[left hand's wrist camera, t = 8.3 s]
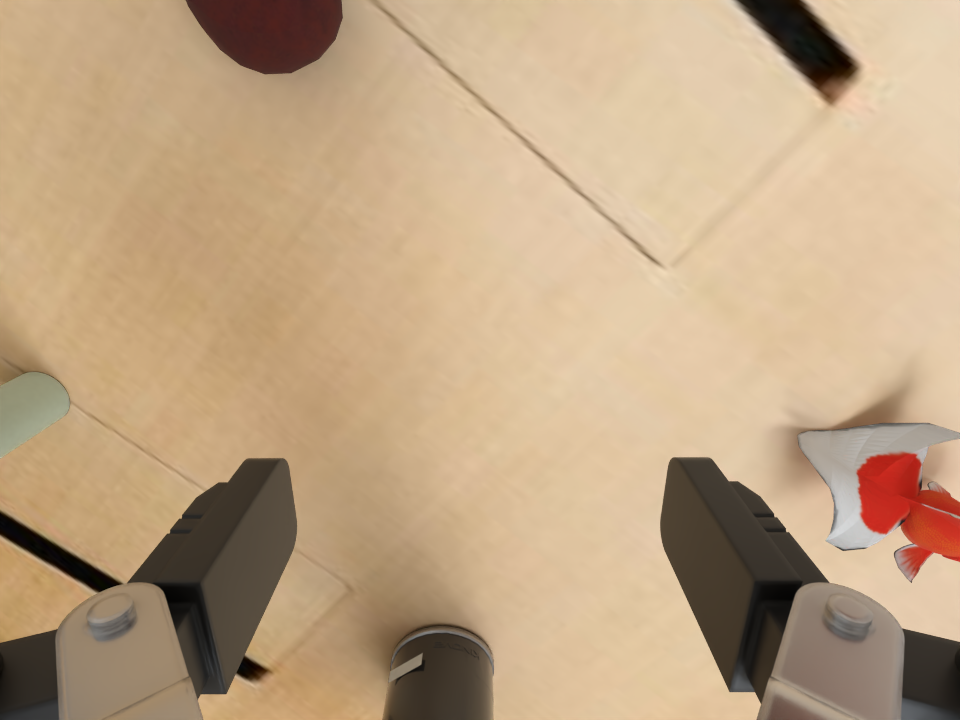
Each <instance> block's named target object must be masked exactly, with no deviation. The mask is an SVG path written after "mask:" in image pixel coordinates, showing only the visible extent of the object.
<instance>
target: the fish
mask: <svg viewBox="0 0 960 720" xmlns="http://www.w3.org/2000/svg"><path fill="white" fill-rule="evenodd" d="M797 437H798V443H799V447H800V449H801V450H802V452H803V453H804V455H805V456H806V457H807V459H808V460H809V461H810V462H811V464H812V465H813V466H814V468H815V469H816V470H817V472H818V473H819V474H820V476H821V477H822V479H823V480H824V481H825V483H826V484H827V485H828V487H829V488H830V490H831V494H832V497H833V501H834V520H833V524H832V528H831V532H830V535H829V536H828V538H827V539H826V541H827V542H828V543H830V544H832V545H834V546H835V547H837V548H839V549H841V550H842V551H846V550H856V549H865V548H867V547H870V546H872V545H874V544H876V543H878V542H879V541H880V540H882V539H883V538H885V537H886V536H887V535H889V534H890V533H891V532H892V531H894V530H895V529H896V528H897V527H899V526H900V525H901V529H902V531H903V533H904V535H905V536H906V537H907V538H908V539H909V541H911V542H912V543H914V544H910V545H907V546H904V547H902V548H900V549H898V550H896V551H895V552H894V557H895V560H896V563H897V565H898V568H899V569H900V570H901V571H902V573H903V574H904V575H905V576H906V578H907V579H908V580H909V581H910V582H911V583H912V580H913V578H914V577H915V576H916V574H917V573H918V572H919V569H920V567H921V566H922V565H923V564H924V562H925V561H926V559H927V558H928V557H929V556H931V555H932V554H933V553H938V554H942V556H943V557H946V558H948V559H952V560H955V561H959V562H960V502H958V501H957V500H955V499H954V498H952V497H951V495H950V493H949V492H947V491H946V490H945V489H944V488H943V487H941V486H940V485H939V484H938V483H936V482H930V483H928V487H929V489H930V490H922V491H920V490H921V488H922V464H923V462H924V459H925V457H926V454H927V451H928V447H929V446H931V445H934V444H938V443H941V442H946V441H950V440H955V439H960V433H958V432H955V431H952V430H949V429H946V428H943V427H939V426H936V425H933V424H930V423H880V424H873V425H866V426H859V427H852V428H845V429H839V430H832V431H830V430H816V431H806V432H803V433H800V434H799V435H797Z"/></svg>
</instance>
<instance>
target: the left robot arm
mask: <svg viewBox="0 0 960 720" xmlns="http://www.w3.org/2000/svg"><path fill="white" fill-rule="evenodd" d="M660 529H661V538H662V543H663V547H664V550H665V552H666V554H667V557H668V559H669V561H670V563H671V565H672V567H673V570H674V572H675V574H676V576H677V578H678V581H679V583H680V585H681V587H682V589H683V591H684V594H685V596H686V598H687V600H688V602H689V604H690V607H691V609H692V611H693V613H694V615H695V618H696V620H697V622H698V624H699V626H700V628H701V631H702V633H703V635H704V637H705V639H706V641H707V644H708V646H709V648H710V650H711V652H712V655H713V657H714V659H715V661H716V663H717V665H718V668H719V670H720V672H721V674H722V676H723V679H724V681H725V683H726V685H727V687H728V689H729V692H755V693H756V695H757V697H758V699H759V701H760V703H761V707H760V710H759V713H758V717H757V720H960V642H957V641H953V640H949V639H945V638H940V637H936V636H932V635H927V634H923V633H919V632H915V631H910V630H906V629H903V628H901V626H900V624H899V623H898V621H897V620H896V619H895V618H894V616H893V615H892V614H891V613H890V612H889V611H888V610H887V609H886V608H884V607H883V606H882V605H880V604H879V603H878V602H876V601H875V600H873V599H871V598H870V597H868V596H866V595H864V594H862V593H860V592H858V591H856V590H853V589H851V588H848V587H845V586H841V585H837V584H832V583H829V582H828V580H827V579H826V578H825V577H824V575H823V574H822V573H821V572H820V570H819V569H818V568H817V567H816V565H815V564H814V563H813V562H812V560H811V559H810V558H809V557H808V555H807V554H806V553H805V552H804V550H803V549H802V548H801V547H800V546H799V544H798V543H797V542H796V541H795V539H794V538H793V537H792V536H791V534H790V533H789V532H786V528H785V527H784V526H783V524H782V523H781V522H780V521H779V519H778V518H777V517H774V513H773V512H772V511H771V509H770V508H769V507H768V506H767V504H766V503H765V502H764V501H763V499H762V498H761V497H760V496H759V495H757V494H756V493H754V492H753V491H751V490H750V489H748V488H747V487H745V486H744V485H742V484H741V483H739V482H738V481H728V480H727V478H726V477H725V476H724V474H723V473H722V472H721V470H720V469H719V468H718V466H717V465H716V464H715V462H714V461H713V460H712V459H711V458H708V457H674V458H672V459H671V460H670V462H669V465H668V470H667V478H666V485H665V492H664V499H663V506H662V513H661V521H660ZM296 534H297V519H296V512H295V505H294V498H293V491H292V484H291V477H290V470H289V466H288V463H287V461H286V460H285V459H283V458H248V459H246V460H245V461H244V462H243V463H242V464H241V466H240V467H239V468H238V470H237V471H236V472H235V474H234V475H233V476H232V478H231V479H230V480H229V482H228V483H217V484H216V485H214V486H213V487H211V488H210V489H209V490H207V491H206V492H204V493H203V494H201V495H200V496H198V497H197V498H196V499H195V500H194V501H193V502H192V504H191V505H190V506H189V507H188V509H187V510H186V511H185V512H184V514H183V515H182V519H179V520H178V521H177V522H176V523H175V525H174V526H173V527H172V528H171V530H170V534H167V535H166V536H165V537H164V538H163V539H162V541H161V542H160V543H159V544H158V546H157V547H156V548H155V549H154V551H153V552H152V553H151V554H150V555H149V557H148V558H147V559H146V560H145V562H144V563H143V564H142V565H141V567H140V568H139V569H138V570H137V572H136V573H135V574H134V575H133V576H132V578H131V579H130V580H129V581H128V583H127V584H123V585H119V586H115V587H112V588H109V589H107V590H104V591H102V592H100V593H98V594H96V595H94V596H92V597H90V598H89V599H87V600H85V601H84V602H82V603H81V604H80V605H78V606H77V607H76V608H74V609H73V610H72V611H71V612H70V613H69V614H68V615H67V616H66V618H65V619H64V620H63V621H62V623H61V624H60V626H59V628H58V629H56V630H53V631H49V632H45V633H41V634H36V635H32V636H28V637H24V638H19V639H15V640H11V641H7V642H2V643H0V720H203V717H202V713H201V710H200V707H199V703H198V698H199V696H200V694H227V691H228V689H229V687H230V685H231V683H232V681H233V679H234V676H235V674H236V672H237V670H238V668H239V666H240V663H241V661H242V659H243V657H244V655H245V653H246V651H247V648H248V646H249V644H250V642H251V640H252V638H253V636H254V633H255V631H256V629H257V627H258V625H259V623H260V620H261V618H262V616H263V614H264V612H265V610H266V608H267V605H268V603H269V601H270V599H271V597H272V595H273V592H274V590H275V588H276V586H277V584H278V582H279V580H280V577H281V575H282V573H283V571H284V569H285V567H286V564H287V562H288V560H289V558H290V556H291V554H292V551H293V549H294V545H295V541H296ZM493 674H494V661H493V656H492V653H491V651H490V649H489V648H488V646H487V645H486V644H485V643H484V642H483V641H482V640H481V639H480V638H479V637H477V636H476V635H474V634H472V633H470V632H468V631H466V630H463V629H460V628H455V627H449V626H433V627H427V628H423V629H420V630H417V631H415V632H413V633H411V634H409V635H407V636H406V637H405V638H403V639H402V640H401V641H400V642H399V644H398V645H397V646H396V648H395V650H394V652H393V655H392V660H391V671H390V675H389V681H388V683H389V684H388V690H387V695H386V701H385V707H384V712H383V718H382V720H494V718H493Z"/></svg>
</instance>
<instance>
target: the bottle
mask: <svg viewBox="0 0 960 720" xmlns="http://www.w3.org/2000/svg"><path fill="white" fill-rule="evenodd" d="M69 407H70V400H69V396H68V393H67V391H66V390H65V388H64V387H63V386H62V385H61V384H60V383H59V382H58V381H57V380H56V379H54V378H53V377H51V376H49V375H47V374H44V373H40V372H28V373H24V374H22V375H20V376H18V377H16V378H14V379H12V380H10V381H8V382H6V383H4V384H3V385H1V386H0V459H1V458H2V457H4V456H5V455H7V454H8V453H10V452H11V451H13V450H14V449H16V448H17V447H19V446H20V445H22V444H23V443H25V442H26V441H28V440H29V439H31V438H32V437H34V436H35V435H37V434H38V433H40V432H41V431H43V430H44V429H46V428H47V427H49V426H50V425H52V424H53V423H55V422H56V421H58V420H59V419H61V418H62V417H64V416H65V415H66V414H67V412H68V410H69Z"/></svg>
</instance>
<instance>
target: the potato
mask: <svg viewBox="0 0 960 720" xmlns="http://www.w3.org/2000/svg"><path fill="white" fill-rule="evenodd" d="M186 2H187V4H188V7H189V8H190V10H191V11H192V13H193V14H194V16H195V18H196V19H197V21H198V22H199V24H200V25H201V27H202V28H203V29H204V31H205V32H206V33H207V34H208V36H209V37H210V38H211V39H212V40H213V42H214V43H215V44H216V45H217V46H218V48H219V49H220V50H221V51H223V52H224V53H225V54H227V55H228V56H229V57H230V58H232V59H233V60H234V61H236V62H237V63H238V64H240V65H241V66H244V67H246V68H249V69H252V70H255V71H258V72H260V73H263V74H282V73H292V72H294V71H296V70H298V69H300V68H302V67H304V66H306V65H308V64H310V63H312V62H314V61H316V60H318V59H319V58H320V57H321V56H322V55H323V54H324V52H325V51H326V50H327V49H328V48H329V46H330V45H331V44H332V43H333V42H334V41H335V39H336V36H337V33H338V30H339V27H340V24H341V21H342V18H343V16H342V2H341V0H186Z"/></svg>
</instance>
